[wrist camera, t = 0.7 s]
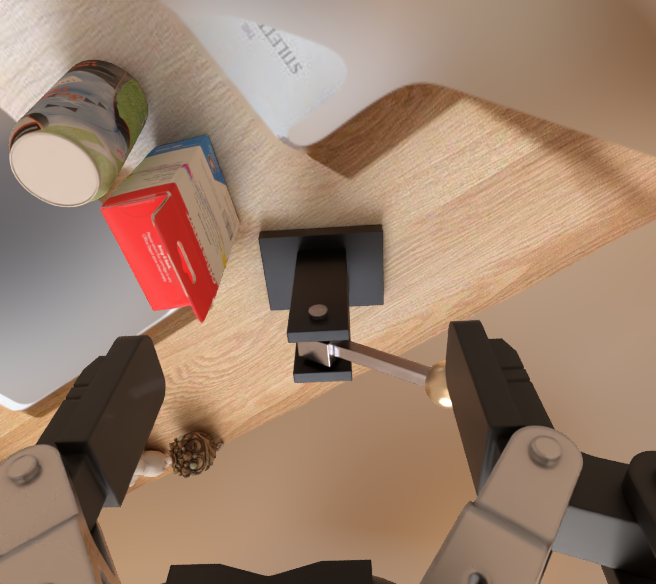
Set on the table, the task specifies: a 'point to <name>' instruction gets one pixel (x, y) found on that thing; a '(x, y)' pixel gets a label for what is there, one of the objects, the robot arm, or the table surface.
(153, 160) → the ink box
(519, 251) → the table surface
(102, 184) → the beverage can
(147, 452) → the white lobed figurine
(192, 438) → the pendant
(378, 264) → the lever base
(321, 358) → the lever with brass knob
